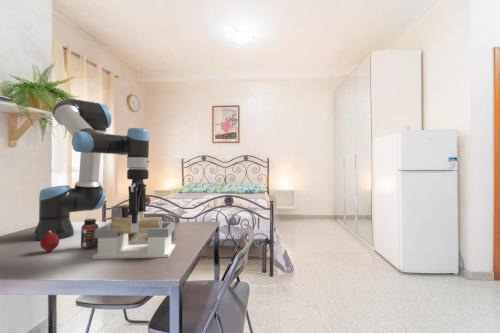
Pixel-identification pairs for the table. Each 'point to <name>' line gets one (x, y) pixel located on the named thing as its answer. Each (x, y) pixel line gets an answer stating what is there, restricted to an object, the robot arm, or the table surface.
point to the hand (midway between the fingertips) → (137, 230)
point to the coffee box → (123, 213)
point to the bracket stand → (118, 245)
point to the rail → (144, 223)
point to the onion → (49, 241)
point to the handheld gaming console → (170, 219)
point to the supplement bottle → (89, 234)
